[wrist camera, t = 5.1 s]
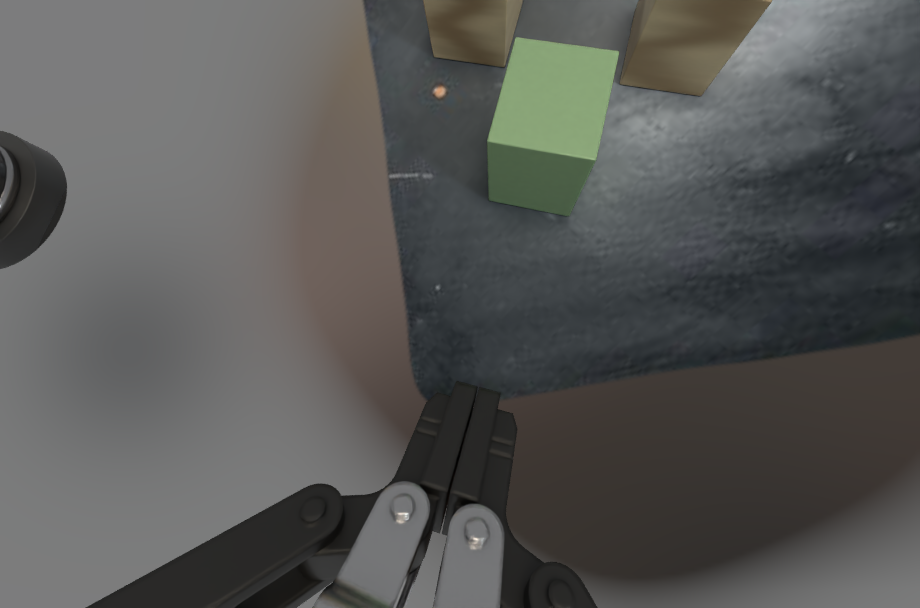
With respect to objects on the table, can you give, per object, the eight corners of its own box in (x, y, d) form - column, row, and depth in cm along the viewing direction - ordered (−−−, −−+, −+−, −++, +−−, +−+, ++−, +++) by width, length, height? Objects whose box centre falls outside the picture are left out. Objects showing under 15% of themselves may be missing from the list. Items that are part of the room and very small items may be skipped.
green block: (488, 200, 27) (486, 141, 20) (510, 119, 28) (515, 36, 21) (569, 216, 26) (596, 160, 19) (588, 132, 27) (620, 50, 20)
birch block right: (618, 84, 28) (660, -11, 21) (634, 10, 29) (679, -104, 22) (701, 96, 27) (772, 1, 20) (714, 19, 28) (785, -96, 21)
